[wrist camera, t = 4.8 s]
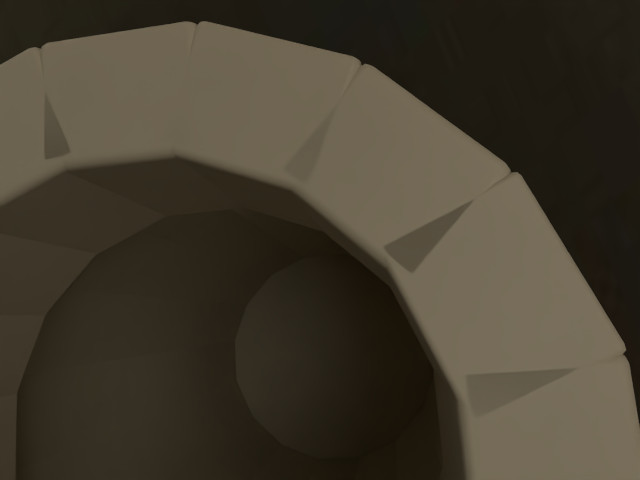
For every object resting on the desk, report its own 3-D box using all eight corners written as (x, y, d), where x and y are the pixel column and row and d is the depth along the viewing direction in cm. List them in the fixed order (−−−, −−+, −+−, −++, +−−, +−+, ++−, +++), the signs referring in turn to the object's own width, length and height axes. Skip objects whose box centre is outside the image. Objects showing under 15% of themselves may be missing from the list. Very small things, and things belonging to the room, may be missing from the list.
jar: (486, 405, 15) (926, 832, 3) (286, 504, 16) (-159, 1286, 3) (379, 208, 17) (335, -131, 4) (196, 304, 17) (-375, 274, 4)
